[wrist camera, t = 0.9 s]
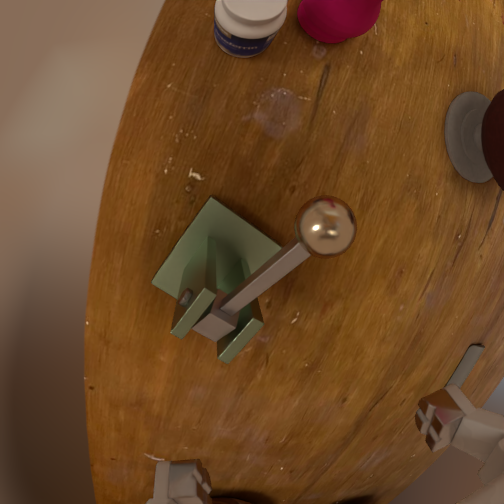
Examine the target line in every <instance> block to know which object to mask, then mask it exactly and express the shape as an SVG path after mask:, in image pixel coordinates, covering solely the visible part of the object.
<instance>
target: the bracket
mask: <svg viewBox="0 0 504 504" xmlns="http://www.w3.org/2000/svg"><path fill="white" fill-rule="evenodd" d="M282 248H283V247H282V246H281V244H280V243H278V242H277V241H275V240H274V239H273V238H271V237H270V236H269V235H267V234H266V233H264V232H263V231H262V230H260V229H259V228H258V227H256V226H255V225H253V224H252V223H251V222H249V221H248V220H246V219H245V218H244V217H242V216H241V215H239V214H238V213H237V212H235V211H234V210H232V209H231V208H230V207H228V206H227V205H225V204H224V203H223V202H221V201H220V200H218V199H217V198H216V197H214V196H213V195H210V197H209V198H208V199H207V201H206V202H205V204H204V205H203V206H202V208H201V209H200V210H199V212H198V213H197V215H196V216H195V217H194V219H193V220H192V222H191V223H190V224H189V226H188V227H187V229H186V230H185V231H184V233H183V234H182V236H181V237H180V239H179V240H178V241H177V243H176V244H175V246H174V247H173V249H172V250H171V252H170V253H169V255H168V256H167V257H166V259H165V260H164V262H163V263H162V265H161V266H160V268H159V269H158V271H157V272H156V274H155V275H154V277H153V279H152V281H151V283H152V284H154V285H155V286H157V287H158V288H160V289H161V290H163V291H165V292H166V293H168V294H169V295H171V296H173V297H174V298H176V299H177V302H176V307H175V312H174V317H173V322H172V327H171V334H173V335H175V336H177V337H178V338H180V339H183V338H184V337H185V335H186V334H187V333H188V331H189V330H190V329H191V328H192V326H193V325H194V324H195V323H196V321H197V320H198V319H199V318H200V316H201V315H202V314H203V312H204V311H205V310H206V309H207V307H208V306H209V305H210V304H211V302H212V301H213V300H214V299H215V297H216V296H217V289H220V290H222V291H223V292H225V293H226V294H229V293H230V292H232V291H233V290H234V289H235V288H236V287H237V286H239V285H240V284H241V283H242V282H243V281H245V280H246V279H247V278H248V277H249V276H250V275H252V274H253V273H254V272H255V271H256V270H257V269H259V268H260V267H261V266H262V265H263V264H264V263H266V262H267V261H268V260H269V259H270V258H271V257H273V256H274V255H275V254H276V253H277V252H278V251H280V250H281V249H282ZM263 325H264V321H263V317H262V313H261V310H260V306H259V302H258V298H255V299H254V300H253V301H251V302H250V303H249V304H247V305H246V306H245V307H243V308H242V309H241V310H240V313H239V318H238V322H237V326H236V328H235V329H234V330H233V331H231V332H230V333H228V334H227V335H225V336H224V337H222V338H221V339H219V340H218V341H217V358H218V359H219V360H221V361H223V362H225V363H227V364H229V362H230V361H231V360H232V359H233V358H234V357H235V356H236V355H237V354H238V353H239V352H240V351H241V349H242V348H243V347H244V346H245V345H246V344H247V343H248V342H249V341H250V340H251V339H252V337H253V336H254V335H255V334H256V333H257V332H258V331H259V330H260V328H261V327H262V326H263Z"/></svg>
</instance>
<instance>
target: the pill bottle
mask: <svg viewBox="0 0 504 504" xmlns="http://www.w3.org/2000/svg"><path fill="white" fill-rule="evenodd" d="M287 1H288V0H216V3H215V10H214V36H215V40H216V42H217V44H218V45H219V47H220V48H221V49H222V50H223V51H224V52H226V53H228V54H230V55H232V56H235V57H242V58H246V57H252V56H255V55H258V54H260V53H261V52H263V51H264V50H265V49H266V48H267V47H268V46H269V45H270V43H271V42H272V40H273V38H274V37H275V35H276V34H277V32H278V31H279V29H280V28H281V26H282V25H283V23H284V21H285V18H286V14H287V8H286V5H287Z"/></svg>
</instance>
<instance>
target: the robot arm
mask: <svg viewBox="0 0 504 504" xmlns="http://www.w3.org/2000/svg"><path fill="white" fill-rule="evenodd" d="M418 406H419V407H420V408H419V409H418V410H417V412H416V415H415V422H416V425H417V428H418V430H419V431H420V433H422V434H425V435H426V440H425V441H426V443H427V444H428V446H429V448H430V449H431V451H432V452H435V451H437V450H439V449H441V448H443V447H445V446H447V445H449V444H450V445H452V446H454V447H456V448H458V449H460V450H462V451H463V452H465V453H467V454H469V455H471V456H473V457H475V458H477V459H479V460H481V461H483V462H485V463H484V464H483V466H482V467H481V468H480V470H479V472H478V476H479V477H480V479H481V481H482V482H483V484H484V486H482V487H481V488H479V489H478V490H476V491H475V492H473V493H472V494H470V495H468V496H467V497H465V498H464V499H462V500H460V501H459V502H457V503H455V504H504V416H503V415H499V414H497V413H493V412H490V411H487V410H484V409H481V408H477V409H476V408H475V407H474V406H473V405H472V403H471V402H470V401H469V400H468V399H467V397H466V396H465V395H464V394H463V393H462V391H461V390H460V389H459V388H458V387H457V385H455V384H450V385H448V386H446V387H444V388H442V389H440V390H438V391H436V392H434V393H432V394H430V395H427V396H425V397H423V398H421V399H420V400H419V403H418ZM211 490H212V487H211V480H210V476H209V473H208V471H207V469H206V468H203V467H202V462H201V460H200V459H190V460H178V461H160V462H158V463H157V465H156V473H155V485H154V497H153V499H149V500H148V501H147V503H146V504H212V499H211V498H210V496H209V495H208V494H209V493H210V491H211Z"/></svg>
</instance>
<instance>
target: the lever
mask: <svg viewBox="0 0 504 504" xmlns="http://www.w3.org/2000/svg"><path fill="white" fill-rule="evenodd" d="M294 228H295V235H296V237H295V238H293V239H292V240H291V241H290V242H289V243H288V244H287V245H285V246H284V247H283V248H282V249H281V250H280V251H278V252H277V253H276V254H275V255H274V256H273V257H271V258H270V259H269V260H268V261H267V262H266V263H264V264H263V265H262V266H261V267H260V268H259V269H257V270H256V271H255V272H254V273H253V274H252V275H250V276H249V277H248V278H247V279H246V280H245V281H243V282H242V283H241V284H240V285H239V286H237V287H236V288H235V289H234V290H233V291H232V292H230V293H229V294H226V293H225V292H223V291H222V290H220V289H217V296H216V297H215V299H214V300H213V301H212V302H211V304H210V305H209V306H208V307H207V309H206V310H205V311H204V312H203V314H202V315H201V316H200V318H199V319H198V320H197V321H196V323H195V324H194V325H193V326H192V328H191V329H193V330H195V331H196V332H198V333H200V334H202V335H203V336H205V337H207V338H209V339H211V340H212V341H214V342H216V341H218V340H219V339H221V338H222V337H224V336H225V335H227V334H228V333H230V332H231V331H233V330H234V329H235V328H236V326H237V322H238V318H239V313H240V310H241V309H242V308H243V307H245V306H246V305H247V304H249V303H250V302H251V301H253V300H254V299H255V298H257V297H258V296H259V295H261V294H262V293H263V292H265V291H266V290H267V289H268V288H270V287H271V286H272V285H274V284H275V283H276V282H277V281H279V280H280V279H281V278H283V277H284V276H285V275H287V274H288V273H289V272H290V271H292V270H293V269H294V268H295V267H297V266H298V265H299V264H301V263H302V262H303V261H304V260H306V259H307V258H308V257H309V256H311V255H312V256H315V257H318V258H323V259H329V258H334V257H337V256H340V255H342V254H343V253H345V252H346V251H347V250H348V249H349V248H350V247H351V245H352V244H353V242H354V240H355V237H356V233H357V221H356V218H355V215H354V213H353V211H352V209H351V208H350V207H349V205H348V204H347V203H345V202H344V201H343V200H341V199H339V198H337V197H334V196H329V195H322V196H317V197H314V198H312V199H310V200H308V201H307V202H306V203H305V204H304V205H303V206H302V207H301V208H300V209H299V211H298V213H297V215H296V218H295V225H294Z"/></svg>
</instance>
